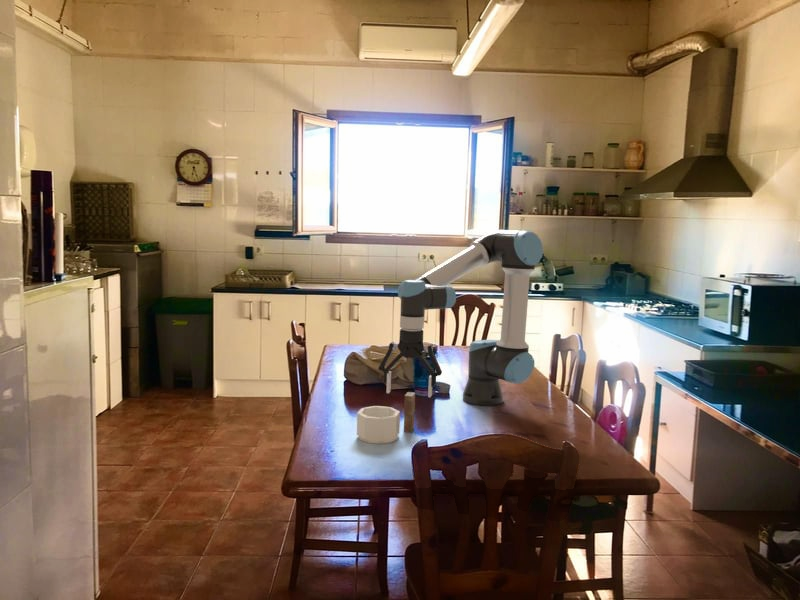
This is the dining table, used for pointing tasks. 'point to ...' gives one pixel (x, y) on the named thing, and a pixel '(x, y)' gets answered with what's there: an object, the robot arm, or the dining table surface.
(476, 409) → the dining table surface
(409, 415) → the brown rectangular block
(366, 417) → the white short hollow cylinder
